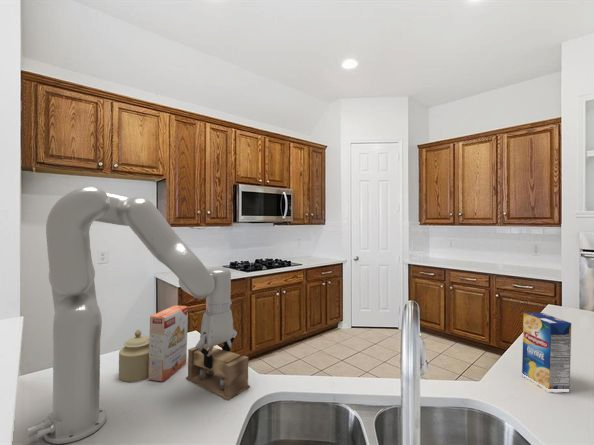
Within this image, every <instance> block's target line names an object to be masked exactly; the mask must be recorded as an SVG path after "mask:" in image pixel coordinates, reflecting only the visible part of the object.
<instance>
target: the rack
mask: <svg viewBox="0 0 594 445" xmlns="http://www.w3.org/2000/svg"><path fill="white" fill-rule="evenodd" d="M204 345H205V344H203V347H204ZM187 350H188V351H187V352H188V353H187V355H188V357H187V376H186V377H185V379H186V380H187V381H189V382H191V383H192V384H195V385H196V386H199V387H200V388H202V389H204V390H206V391H208V392H210V393H212V394H213V395H216V396H218V397H220V398H222V399H223V400H225V401H230V400H231V399H232V398H235V397H237V396H238V395H239V394H241V393H243V392H244V391H247V390H248V389H250V385H249V356H246V355H243V356H241V357H240V358H238V359H236V360H234V361H232V362H230V363H228V364H226V365H225V372H224V374H222V373H218V372H215V371H212V370H209V369H206V368H203V367H200V366H197V365H194V352H195V351H197V350H198V349H197V348H196V346H194V347H191V348H187Z"/></svg>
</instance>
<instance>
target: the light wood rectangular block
mask: <svg viewBox="0 0 594 445" xmlns="http://www.w3.org/2000/svg"><path fill="white" fill-rule="evenodd" d="M208 349H209V347H208ZM208 349H207V351H208ZM211 355H212V368H211V369H209V368H207V367H205V366H204V354H202V353H201V352H200V351H199V350H197V351H195V352H194V365H197V366H200V367H203V368H206V369H209V370H212V371H215V372H218V373H222V374H224V372H225V365H226V364H228V363H230V362H232V361H234V360H236V359H238V358H240V357H242V356H241V354H239V353H235V352H232V351H230V352H229V351H225V350H222V348H221V349H220V348H218V347H215V346H214V347H213V349H212V352H211Z"/></svg>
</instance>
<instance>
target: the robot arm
mask: <svg viewBox="0 0 594 445" xmlns="http://www.w3.org/2000/svg"><path fill="white" fill-rule="evenodd" d="M94 222H100V223H105V224H110V225H111V224H112V225H116V226H117V225H118V226H124V227H129V228H130V229H131V231H132V232H133V233H134V234H135V235H136V236H137V238H138V239H139V240H140V241H141V242H142V244H143V245H144V246H145V247H146V248H147V250H148V251H149V253H151V255H152V256H153V257H154V258H155V259H156V260H157V261H159V262H160V263H161V264H163V265H164V266H165V267H166V268H168V269H169V270H170V271H171V272H172V273H173V274H174V275H175V276H176V277H177V278H178V285H179V287H180V288H181V290H182V291H184V292H185V293H187V294H189V295H190V296H192V297H193V298H196V299H199V300H200V299H205V298H206V299H205V312H203V314H202V319H201V326H200V333H199V334H200V336H199V341H198V342H197V343H196V345H195V347H196V348H197V349H198V350H199V351H200V352H201V353H202V354H204V366H205V367H207V368H209V369H211V368H212V355H211V352H212V349H213V347H214V348H215V346H218V345H220V344H223V345H222V348H221V350H225V351H229V352H231V348H232V347H233V345H232V344H233V342H234V341H235V338H236V336H237V334H238V332H237V330H235V329H234V320H233V318H234V317H233V313H232V309H231V305H232V304H233V301H232V300H231V293H232V292H231V289H232V288H231V286H232V285H231V283H232V282H231V281H232V273H231V270H230V269H229V268H227V267H213V268H209V269H208V268H207V267H206V266H205V265H204V263H203V262H202V261H201V259H200V258H198V256H197V255H196V254H195V253H194V252H193V250H191V248H189V246H188V245H187V244H186V243H185V241H183V240H182V238H180V236H179V235H178V234H177V233H176V231H175V230H174V229H173V228H172V226H171V225H170V223H168V221H167V219H165V217H164V216H163V214H162V213H161V211H159V209H158V208H157V207H156V205H155V204H154V203H153V202H152V201H151V200H149V198H145V197H142V196H136V197H135V196H134V197H131V196H130V197H129V196H123V195H119V194H113V193H109V192H106V191H104V190H103V188H99V187H97V186H94V185H84V186H83V185H82V186H79V187H77V188H75V189H73V190H71V191H69V192H68V193H66V194H65V195H63V196H62V197H61V198H59V199H58V200H57V201H56V202H55V204H54V205H53V206H52V208H51V210H49V214H48V216H47V219H46V224H45V236H46V238H45V239H46V248H47V258H48V260H47V261H48V268H49V271H48V281H49V284H50V286H51V294H52V303H53V309H54V315H53V325H52V345H53V346H52V348H53V349H52V356H53V357H52V412H50V413H48V415H47V419H44V420H43V421H42V422H41V423H39V424H35V425H32V426H29V427H28V428H26V430H25V434H26V437H27V438H30V437H33V436H36V438H37V439H39V438H42V437H43V438H44V440H45V441H46V442H47V443H50V444H53V445H54V444H55V445H56V444H57V445H60V444H61V445H62V444H67V443H73V442H77V441H80V440H82V439H84V438H87V437H88V436H91V435H92V434H93V433H96V432H97V431H98V430H99V429H100V428H102V426H104V424H105V423H106V421H107V412H106V410H105V409H103V408H100V391H101V390H100V389H101V388H100V385H101V384H100V383H101V382H100V381H101V380H100V379H101V378H100V376H101V373H100V372H101V369H100V368H101V360H100V359H101V339H102V338H101V336H102V324H103V321H102V313H101V310H100V307H99V305H98V300H97V294H96V293H97V292H96V286H95V284H96V283H95V278H96V277H95V276H96V270H95V266H94V264H93V259H92V258H93V256H92V251H91V239H90V238H91V237H90V229H91V226H92V225H93V223H94ZM203 344H205V345H204V347H203ZM208 347H209V349H208ZM207 349H208V351H207Z"/></svg>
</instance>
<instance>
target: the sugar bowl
mask: <svg viewBox="0 0 594 445" xmlns="http://www.w3.org/2000/svg"><path fill="white" fill-rule="evenodd" d="M148 368H149V336H148V337H147V336H145V335H142V331H141V330H140V329H137V330H135V332H134V336H133V337H131V338H129V339H128V340H127V341H125V342H124V343H123V347H122V348H121V349H119V351H118V379H119V380H120V381H122V382H125V383H133V382H139V381H143V380H147V379H148Z"/></svg>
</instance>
